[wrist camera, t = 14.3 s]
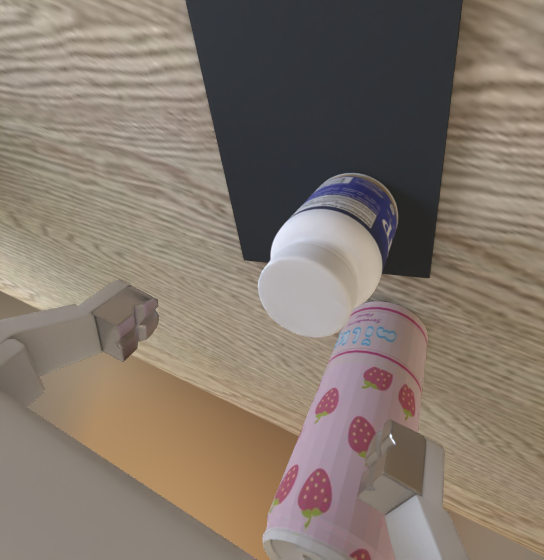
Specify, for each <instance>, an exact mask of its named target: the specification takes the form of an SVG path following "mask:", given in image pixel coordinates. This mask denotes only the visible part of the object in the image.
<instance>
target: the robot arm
mask: <svg viewBox="0 0 544 560" xmlns="http://www.w3.org/2000/svg"><path fill="white" fill-rule="evenodd" d="M157 307H158V299H156V298H154V297H152V296H150V295H148V294H147V293H145V292H143V291H141V290H139V289H137V288H135V287H134V286H132V285H130V284H128V283H126V282H124V281H122V280H120V279H119V280H115V281H113V282H112V283H110V284H109V285H107V286H106V287H104V288H103V289H102V290H100V291H99V292H97V293H96V294H94V295H93V296H91V297H90V298H89V299H87V300H86V301H84V302H83V303H81V304H80V305H78V306H77V305H75V304H73V305H68V306H63V307H59V308H54V309H49V310H45V311H40V312H36V313H30V314H26V315H21V316H16V317H12V318H7V319H2V320H0V560H257V559H256V558H254V557H253V556H251V555H250V554H248V553H246V552H245V551H244V550H242V549H240V548H239V547H238V546H236V545H234V544H233V543H232V542H230V541H229V540H227V539H226V538H224V537H222V536H221V535H219V534H218V533H216V532H215V531H213V530H212V529H210V528H209V527H207V526H206V525H204V524H203V523H201V522H200V521H198V520H197V519H195V518H194V517H192V516H191V515H189V514H188V513H186V512H185V511H183V510H182V509H180V508H179V507H177V506H176V505H174V504H173V503H171V502H169V501H168V500H166V499H165V498H164V497H162V496H161V495H159V494H157V493H156V492H154V491H153V490H151V489H150V488H148V487H147V486H145V485H144V484H142V483H141V482H139V481H138V480H136V479H135V478H133V477H132V476H130V475H129V474H127V473H126V472H124V471H123V470H121V469H120V468H118V467H117V466H115V465H114V464H112V463H111V462H109V461H108V460H106V459H105V458H103V457H101V456H100V455H98V454H97V453H96V452H94V451H92V450H91V449H89V448H88V447H86V446H85V445H83V444H82V443H80V442H79V441H77V440H76V439H74V438H73V437H71V436H70V435H68V434H67V433H65V432H64V431H62V430H61V429H59V428H58V427H56V426H55V425H53V424H52V423H50V422H49V421H47V420H46V419H44V418H42V417H41V416H40V415H38V414H36V413H35V412H33V411H32V410H31V409H29V408H28V406H29V405H30V404H31V403H33V402H34V401H35V400H36V399H37V398H38V397H39V396H41V395H42V394H43V393H44V390H45V387H44V386H43V383H42V381H41V379H40V376H42V375H45V374H48V373H50V372H53V371H56V370H58V369H61V368H63V367H66V366H68V365H71V364H74V363H76V362H79V361H81V360H84V359H87V358H89V357H92V356H94V355H97V354H99V353H102V351H103V352H105V353H107V354H109V355H111V356H112V357H115V358H116V359H118V360H120V361H122V362H124V361H125V360H126V359H127V358H128V357H129V356H130V355H131V354H132V353H133V352H134V351H135V350H136V349H137V347H138V342H140V341H143V340H146V339H148V338H149V337H150V336H151V335H152V334H153V332H154V330H155V329H156V327H157V325H158V321H159V315H158V313H157V312H156V310H155V309H156V308H157ZM444 456H445V451H444V448H443V446H442V445H440V444H438V443H436V442H434V441H432V440H430V439H428V438H426V437H424V436H423V435H421V434H419V433H417V432H415V431H413V430H411V429H409V428H407V427H405V426H403V425H401V424H399V423H397V422H395V421H393V420H391V419H390V420H387V422H386V423H385V424H384V427H383V431H378V432H377V433H376V434H375V435H374V436H373V438H372V440H371V442H370V444H369V447H368V450H367V454H366V458H365V461H366V464H367V467H368V469H367V470H366V471H365V472H364V473H363V474H362V476H361V481H360V485H359V490H358V495H357V498H358V499H360V500H362V501H363V502H365V503H367V504H368V505H370V506H371V507H373V508H375V509H376V510H378V511H380V512H381V513H383V514H385V516H384V517H385V521H386V525H387V529H388V533H389V537H390V541H391V545H392V549H393V553H394V557H395V560H470V559H469V557H468V554H467V552H466V550H465V548H464V546H463V543H462V541H461V539H460V536H459V534H458V532H457V530H456V527H455V525H454V523H453V521H452V519H451V516H450V514H449V512H448V511H446V510H445V509H443V493H444Z"/></svg>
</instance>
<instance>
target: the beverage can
mask: <svg viewBox="0 0 544 560" xmlns="http://www.w3.org/2000/svg"><path fill="white" fill-rule="evenodd" d="M427 344H428V334H427V331H426V328H425V326H424V325H423V323H422V321H421V320H420V319H419V318H418V317H417V316H416V315H415V314H413V313H412V312H411V311H409V310H408V309H406V308H404V307H402V306H400V305H396V304H393V303H389V302H382V301H373V302H367V303H363V304H361V305H360V306H358V307H356V308H354V309H353V311H352V313H351V315H350V318H349V320H348V322H347V323H346V325H345V326H344V327H343V328H342V329H341V332H340V335H339V337H338V340H337V342H336V345H335V347H334V350H333V352H332V355H331V357H330V360H329V362H328V365H327V367H326V370H325V372H324V375H323V377H322V380H321V382H320V385H319V387H318V390H317V392H316V395H315V397H314V400H313V402H312V405H311V407H310V410H309V412H308V415H307V418H306V420H305V423H304V425H303V428H302V430H301V433H300V435H299V438H298V440H297V443H296V445H295V448H294V451H293V453H292V455H291V458H290V460H289V463H288V466H287V468H286V470H285V473H284V476H283V478H282V480H281V483H280V485H279V488H278V491H277V493H276V495H275V498H274V501H273V503H272V506H271V508H270V511H269V513H268V516H267V517H268V524H267V529H266V532H265V533H264V535H263V546H264V550H265V551H266V553H267V555H268V556H269V557H270V559H271V560H395V557H394V553H393V549H392V545H391V541H390V537H389V533H388V529H387V525H386V521H385V517H384V516H385V514H383V513H381V512H380V511H378V510H376V509H375V508H373V507H371V506H370V505H368V504H367V503H365V502H363V501H362V500H360V499H358V498H357V495H358V490H359V485H360V481H361V476H362V474H363V473H364V472H365V471H366V470H367V469H368V467H367V464H366V461H365V458H366V454H367V450H368V447H369V444H370V442H371V440H372V438H373V436H374V435H375V434H376V433H377V432H378V431H383V427H384V424H385V423H386V422H387V420H390V419H391V420H393V421H395V422H397V423H399V424H401V425H403V426H405V427H407V428H409V429H411V430H413V431H415V432H417V433H418V424H419V416H420V407H421V398H422V389H423V380H424V371H425V362H426V353H427Z"/></svg>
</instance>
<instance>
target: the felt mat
mask: <svg viewBox="0 0 544 560" xmlns="http://www.w3.org/2000/svg"><path fill="white" fill-rule="evenodd" d="M462 2H463V0H186V4H187V9H188V13H189V18H190V22H191V27H192V31H193V36H194V40H195V45H196V49H197V53H198V58H199V62H200V67H201V71H202V76H203V80H204V85H205V89H206V93H207V98H208V102H209V107H210V111H211V116H212V120H213V125H214V129H215V133H216V138H217V142H218V147H219V151H220V156H221V160H222V165H223V169H224V173H225V178H226V182H227V187H228V191H229V196H230V200H231V205H232V209H233V214H234V218H235V222H236V227H237V231H238V236H239V240H240V245H241V249H242V254H243V258H244V260H247V261H258V262H268V263H269V261H270V260H271V247H272V244H273V241H274V239H275V237H276V235H277V233H278V232H279V230H280V229H281V227H282V226H283V225H284V224H285V223H286V221H287V220H288V219H289V218H290V217H291V216H292V215H293V214H294V213H295V212H296V211H297V210H298V209H299V208H300V207H301V206H302V205H303V204H304V203H305V202H306V201H307V200H308V199H309V197H310V196H311V195H312V194H313V193H314V192H315V191H316V190H317V189H318V188H319V187H320V186H321V185H322V184H323V183H324V182H325V181H327V180H328V179H330V178H332V177H334V176H337V175H340V174H345V173H359V174H364V175H367V176H370V177H372V178H374V179H376V180H377V181H379V182H380V183H382V184H383V185H384V186H385V187H386V188H387V189H388V190H389V192H390V193H391V195H392V196H393V198H394V200H395V203H396V206H397V211H398V224H397V228H396V231H395V235H394V238H393V241H392V244H391V247H390V250H389V253H388V257H387V259H386V262H385V265H384V269H383V272H382V274H391V275H401V276H411V277H422V278H430V271H431V262H432V254H433V245H434V237H435V229H436V220H437V212H438V203H439V195H440V187H441V178H442V170H443V162H444V153H445V145H446V136H447V128H448V120H449V111H450V103H451V94H452V86H453V78H454V69H455V61H456V53H457V44H458V36H459V27H460V19H461V11H462Z"/></svg>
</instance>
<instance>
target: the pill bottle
mask: <svg viewBox="0 0 544 560" xmlns="http://www.w3.org/2000/svg"><path fill="white" fill-rule="evenodd" d="M397 224H398V211H397V206H396V203H395V200H394V198H393V196H392V195H391V193H390V192H389V190H388V189H387V188H386V187H385V186H384V185H383V184H382V183H380V182H379V181H377V180H376V179H374V178H372V177H370V176H367V175H364V174H359V173H345V174H340V175H337V176H334V177H332V178H330V179H328V180H327V181H325V182H324V183H323V184H322V185H321V186H320V187H319V188H318V189H317V190H316V191H315V192H314V193H313V194H312V195H311V196H310V197H309V199H308V200H307V201H306V202H305V203H304V204H303V205H302V206H301V207H300V208H299V209H298V210H297V211H296V212H295V213H294V214H293V215H292V216H291V217H290V218H289V219H288V220H287V221H286V223H285V224H284V225H283V226H282V227H281V229H280V230H279V232H278V233H277V235H276V237H275V239H274V241H273V244H272V247H271V260H270V261H269V263H268V264H267V265H266V267H265V268H264V269H263V271H262V273H261V275H260V278H259V281H258V293H259V297H260V300H261V303H262V305H263V307H264V308H265V310H266V312H267V313H268V314H269V315H270V317H271V318H272V319H273V320H274V321H275V322H277V323H278V324H279V325H280V326H282V327H283V328H285V329H287V330H289V331H290V332H293V333H295V334H298V335H301V336H305V337H311V338H320V337H327V336H330V335H333V334H335V333H337V332H338V331H340V330H341V329H342V328H343V327H344V326H345V325H346V323H347V322H348V320H349V318H350V315H351V313H352V311H353V309H354V308H356V307H358V306H360V305H361V304H363V303H364V302H365V301H366V300H367V299H368V298H369V297H370V296H371V295H372V294H373V292H374V291H375V289H376V287H377V285H378V283H379V281H380V278H381V275H382V272H383V269H384V265H385V262H386V259H387V257H388V253H389V250H390V247H391V244H392V241H393V238H394V235H395V231H396V228H397Z"/></svg>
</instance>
